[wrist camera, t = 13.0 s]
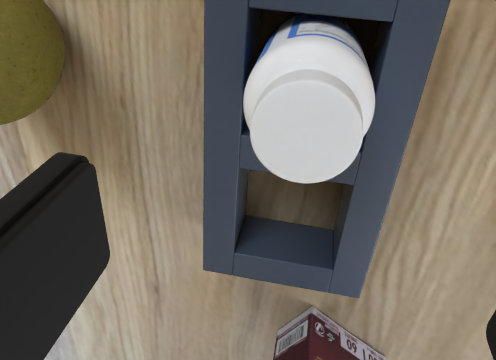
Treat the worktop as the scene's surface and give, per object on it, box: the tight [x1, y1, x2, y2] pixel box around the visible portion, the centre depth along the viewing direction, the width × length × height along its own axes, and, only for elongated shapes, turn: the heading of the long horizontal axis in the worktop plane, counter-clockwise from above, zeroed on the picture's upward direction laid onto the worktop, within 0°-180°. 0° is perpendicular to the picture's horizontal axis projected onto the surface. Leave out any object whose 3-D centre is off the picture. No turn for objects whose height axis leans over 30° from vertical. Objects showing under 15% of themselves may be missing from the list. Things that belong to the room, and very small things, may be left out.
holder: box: [203, 0, 450, 298], centre depth 23 cm, size 10×18×4 cm, turn 176°
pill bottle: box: [243, 13, 375, 184], centre depth 18 cm, size 6×5×10 cm
